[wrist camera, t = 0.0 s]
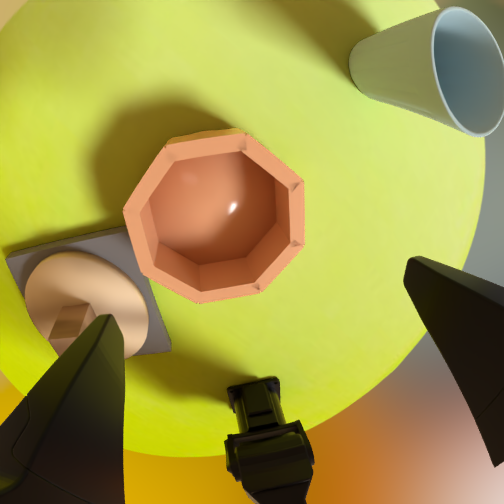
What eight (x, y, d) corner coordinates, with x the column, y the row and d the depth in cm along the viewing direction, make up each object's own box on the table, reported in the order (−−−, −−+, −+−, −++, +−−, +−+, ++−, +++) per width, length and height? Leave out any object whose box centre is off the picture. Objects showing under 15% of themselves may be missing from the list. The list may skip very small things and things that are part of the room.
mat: (171, 342, 28) (171, 351, 27) (65, 352, 26) (62, 360, 25) (131, 224, 21) (129, 231, 20) (10, 252, 20) (5, 259, 18)
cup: (329, 102, 19) (425, 115, 10) (338, 15, 16) (429, -19, 7) (405, 122, 21) (500, 150, 12) (413, 44, 17) (508, 43, 8)
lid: (164, 348, 26) (163, 391, 22) (64, 357, 25) (53, 395, 20) (124, 238, 20) (108, 277, 16) (10, 263, 19) (-16, 298, 14)
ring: (286, 254, 25) (304, 284, 21) (158, 276, 24) (154, 310, 20) (280, 122, 19) (301, 128, 16) (127, 145, 18) (109, 157, 14)
